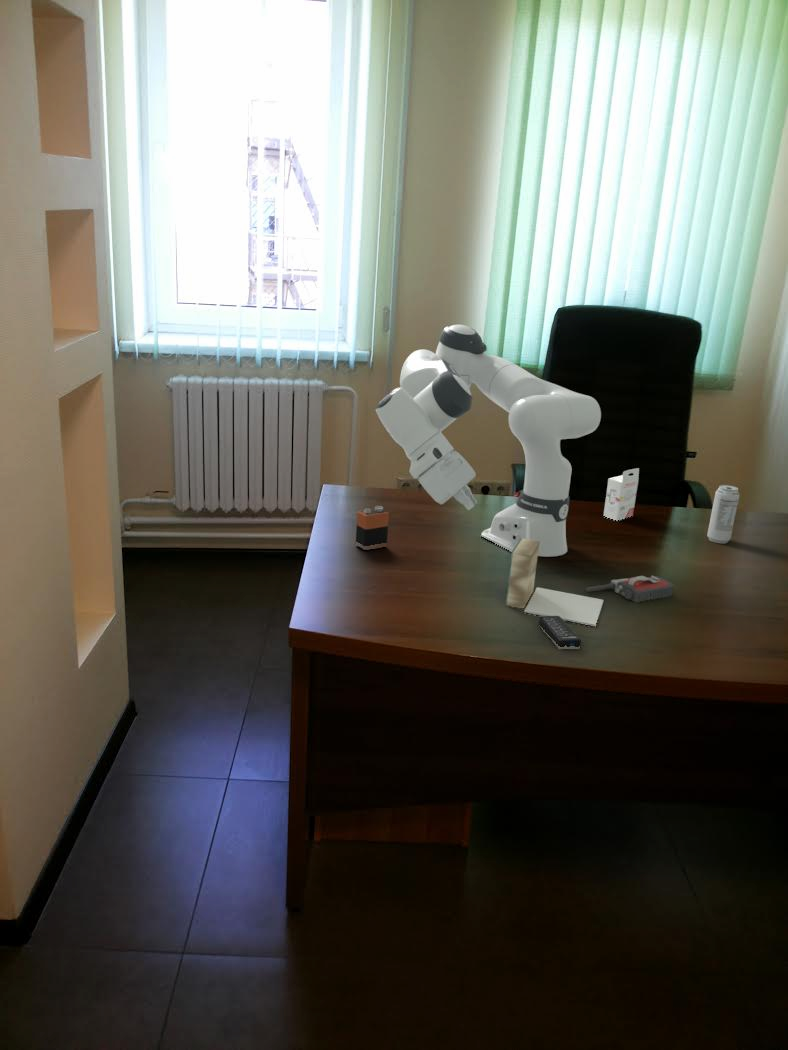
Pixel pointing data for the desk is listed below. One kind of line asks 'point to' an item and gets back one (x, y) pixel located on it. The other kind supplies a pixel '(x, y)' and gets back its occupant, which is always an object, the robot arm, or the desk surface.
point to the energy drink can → (723, 514)
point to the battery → (372, 526)
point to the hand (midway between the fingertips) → (473, 506)
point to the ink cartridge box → (621, 495)
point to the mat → (565, 606)
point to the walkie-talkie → (638, 588)
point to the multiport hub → (559, 631)
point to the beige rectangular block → (522, 572)
